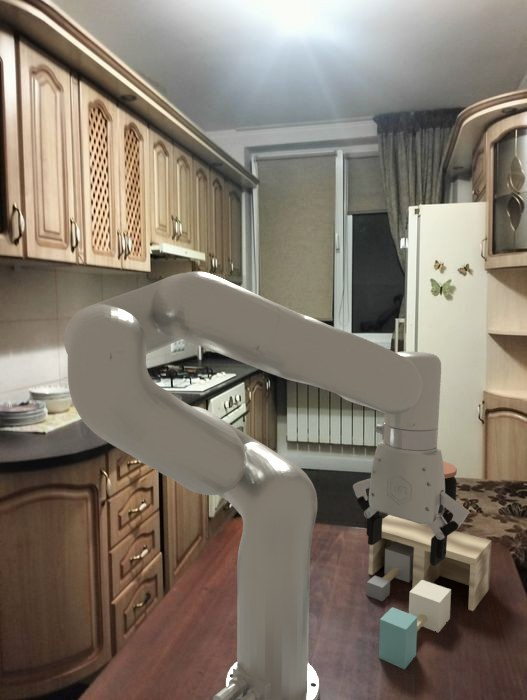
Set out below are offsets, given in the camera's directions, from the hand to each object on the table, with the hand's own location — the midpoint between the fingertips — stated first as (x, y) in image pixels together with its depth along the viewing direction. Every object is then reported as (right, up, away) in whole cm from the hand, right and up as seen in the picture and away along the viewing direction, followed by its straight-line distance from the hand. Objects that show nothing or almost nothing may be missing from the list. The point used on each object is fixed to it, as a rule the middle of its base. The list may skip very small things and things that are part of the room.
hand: (404, 551), depth 80 cm
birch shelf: (+10, -14, +22) cm, 27 cm away
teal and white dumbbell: (+3, -15, +5) cm, 16 cm away
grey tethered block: (+3, -14, +21) cm, 25 cm away
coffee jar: (+14, -13, +35) cm, 39 cm away
